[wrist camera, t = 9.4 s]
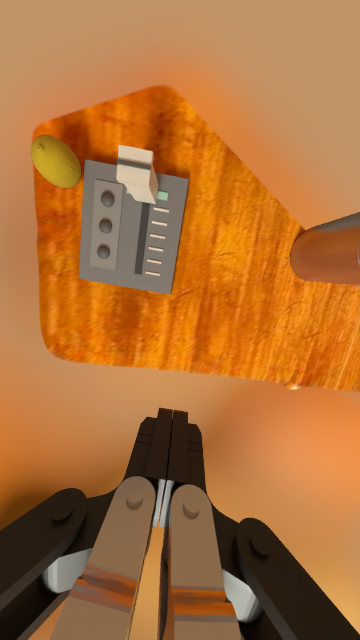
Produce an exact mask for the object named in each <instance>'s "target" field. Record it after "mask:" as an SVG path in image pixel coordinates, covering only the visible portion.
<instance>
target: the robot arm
mask: <svg viewBox="0 0 360 640" xmlns="http://www.w3.org/2000/svg"><path fill="white" fill-rule="evenodd" d="M290 262H291V267H292V269H293V271H294V272H295V273H296V275H297V276H299V277H300V278H301V279H304V280H306V281H313V282H324V283H334V284H346V285H357V286H360V212H358V213H355V214H352V215H350V216H346V217H343V218H340V219H337V220H334V221H331V222H328V223H324V224H321V225H318V226H315V227H313V228H310V229H308V230H306V231H305V232H303V233H302V234H301V235H300V236H299V237H298V238H297V239H296V241H295V243H294V244H293V247H292V249H291V254H290ZM172 413H173V418H172ZM161 501H162V502H161ZM160 507H161V511H160ZM159 512H160V520H159V527H164V538H163V547H162V552H161V561H160V586H159V609H158V610H159V611H158V633H157V640H360V635H359V633H358V632H357V631H356V630H355V629H354V627H353V626H352V625H351V624H350V623H349V621H348V620H347V619H346V618H345V617H344V616H343V615H342V613H341V612H340V611H339V610H338V608H337V607H336V606H335V605H334V604H333V603H332V601H331V600H330V599H329V598H328V597H327V596H326V594H325V593H324V592H323V591H322V590H321V588H320V587H319V586H318V585H317V584H316V583H315V581H314V580H313V579H312V578H311V577H310V575H308V573H307V572H306V571H305V569H304V568H303V567H302V566H301V565H300V564H299V562H298V561H297V560H296V559H295V558H294V556H293V555H292V554H291V553H290V552H289V551H288V549H287V548H286V547H285V546H284V545H283V544H282V542H281V541H280V540H279V539H278V538H277V536H276V535H275V534H274V533H273V532H272V531H271V529H270V528H269V527H268V526H267V525H265V524H264V523H263V522H261V521H260V520H257V519H255V518H245V519H243V520H242V521H241V522H240V523H238V522H236V521H234V520H232V519H230V518H229V517H227V516H225V515H224V514H222V513H221V512H219V511H218V510H217V509H216V508H215V507H214V506H213V504H212V503H211V501H210V499H209V497H208V495H207V492H206V485H205V472H204V459H203V447H202V435H201V432H200V430H199V428H198V426H197V425H195V424H189V423H188V412H184V411H178V410H174V412H173V410H171V409H165V408H159V412H158V416H157V418H152V417H146V419H145V420H144V421H143V422H142V423H141V424H140V428H139V431H138V435H137V438H136V441H135V444H134V448H133V451H132V454H131V457H130V461H129V464H128V467H127V470H126V474H125V476H124V479H123V480H122V482H121V483H120V485H119V486H118V487H117V488H115V489H114V490H113V491H111V492H109V493H107V494H104V495H101V496H97V497H91V498H86V496H85V494H84V493H83V492H82V491H81V490H79V489H75V488H68V489H64V490H61V491H59V492H57V493H55V494H54V495H52V496H51V497H49V498H48V499H46V500H45V501H43V502H42V503H40V504H39V505H37V506H36V507H35V508H33V509H32V510H30V511H29V512H27V513H26V514H24V515H23V516H21V517H20V518H18V519H17V520H15V521H14V522H13V523H11V524H9V525H8V526H7V527H5V528H4V529H2V530H1V531H0V640H28V639H29V638H30V636H31V635H32V634H33V633H34V632H35V631H36V630H37V629H38V628H39V627H40V625H42V623H43V622H44V621H45V620H46V619H47V618H48V617H49V616H50V615H51V614H52V613H53V612H54V611H55V610H56V608H57V607H58V606H59V605H60V604H61V603H62V602H63V601H64V600H65V599H66V598H67V600H66V602H65V604H64V607H63V609H62V611H61V614H60V616H59V619H58V621H57V624H56V626H55V629H54V631H53V633H52V635H51V638H50V640H129V635H130V631H131V626H132V621H133V616H134V611H135V606H136V600H137V596H138V591H139V586H140V582H141V576H142V572H143V567H144V562H145V557H146V554H147V552H148V549H149V545H150V539H151V533H152V527H153V526H157V523H158V517H159Z"/></svg>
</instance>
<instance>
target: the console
mask: <svg viewBox="0 0 360 640" xmlns="http://www.w3.org/2000/svg"><path fill="white" fill-rule="evenodd" d="M155 174H156V178H157V181H158V191H157V199H156V204H152V203H146V202H141V201H136V200H135V199H134V198H133V196H132V195H131V193H130V192H129V190H128V189H127V187H126V186H125V185H124V184H123V183H119V182H118V181H117V179H116V176H117V165H113V164H107V163H102V162H97V161H92V160H86V159H85V166H84V187H83V208H82V229H81V249H80V270H79V279H84V280H90V281H96V282H102V283H107V284H113V285H119V286H125V287H130V288H136V289H142V290H148V291H153V292H159V293H165V294H171V289H172V283H173V277H174V271H175V265H176V258H177V252H178V246H179V240H180V233H181V227H182V221H183V215H184V209H185V202H186V196H187V190H188V182H189V179H186V178H181V177H176V176H171V175H165V174H160V173H155Z"/></svg>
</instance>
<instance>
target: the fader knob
mask: <svg viewBox="0 0 360 640" xmlns="http://www.w3.org/2000/svg"><path fill="white" fill-rule="evenodd" d="M153 160H154V154H153V151H148V150H143V149H138V148H133V147H128V146H123V145H119V152H118V159H116V163H117V176H116V179H117V181H118V182H119V183H123V184H124V185H125V186H126V187H127V189H128V190H129V192H130V193H131V195H132V196H133V198H134V199H135V200H136V201H141V202H146V203H152V204H156V199H157V191H158V181H157V178H156V174H155V171H154V167H153Z"/></svg>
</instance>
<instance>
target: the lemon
mask: <svg viewBox="0 0 360 640" xmlns="http://www.w3.org/2000/svg"><path fill="white" fill-rule="evenodd" d="M31 157H32V160H33V163H34V165H35V167H36V168H37V169H38V171H39V172H40V173H41V175H42V176H43V177H45V178H46V179H47V180H48V181H49V182H51V183H52V184H54V185H56V186H58V187H62V188H71V187H74V186H76V185H77V184H78V183H79V181H80V179H81V174H82V172H81V165H80V162H79V160H78V158H77V156H76V155H75V153H74V152H73V151H72V150H71V148H70V147H69V146H68V145H66V144H65V143H64V142H62V141H61V140H59V139H57V138H55V137H53V136H49V135H42V136H39V137H37V138H36V139H35V140H34V141H33V143H32V146H31Z"/></svg>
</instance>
